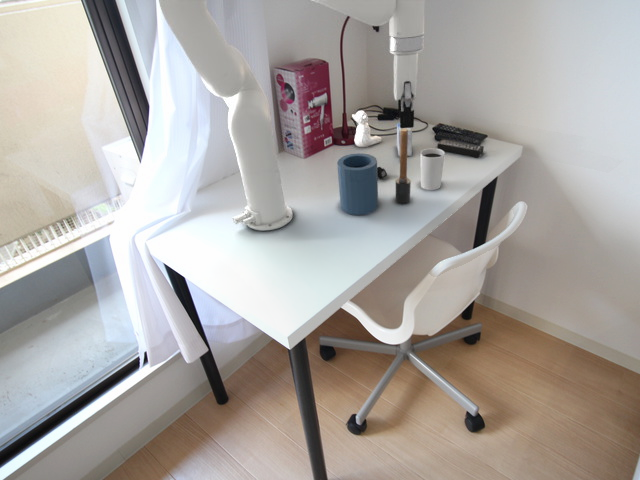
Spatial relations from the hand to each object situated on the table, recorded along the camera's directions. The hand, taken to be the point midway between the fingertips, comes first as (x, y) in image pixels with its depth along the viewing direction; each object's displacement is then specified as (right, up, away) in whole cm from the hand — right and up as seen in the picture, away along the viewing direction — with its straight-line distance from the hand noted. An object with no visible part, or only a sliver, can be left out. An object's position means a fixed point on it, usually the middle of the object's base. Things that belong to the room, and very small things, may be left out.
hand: (405, 120), depth 106 cm
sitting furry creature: (-8, +7, +47) cm, 48 cm away
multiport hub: (+23, +2, +37) cm, 44 cm away
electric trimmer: (-10, -6, +27) cm, 30 cm away
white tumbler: (+10, -13, +20) cm, 25 cm away
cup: (-11, -19, +13) cm, 26 cm away
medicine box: (+5, +2, +40) cm, 40 cm away
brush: (+1, -18, +14) cm, 22 cm away
